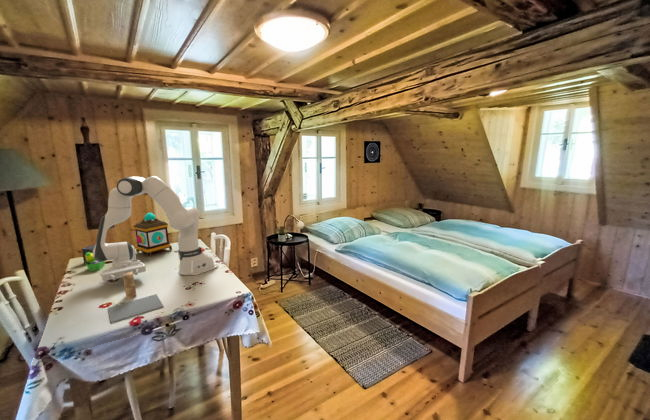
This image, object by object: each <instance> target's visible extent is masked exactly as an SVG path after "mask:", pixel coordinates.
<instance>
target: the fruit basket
mask: <svg viewBox="0 0 650 420" xmlns="http://www.w3.org/2000/svg"><path fill="white" fill-rule="evenodd" d="M85 257H86V260H87V261H88V263H85V266H86V267H87V269H88V270H89V272H96V271H100V270H101V269H102V268H103V267H104V266H105V263H106V261H102V262H100V261H97V260H96V259H94V257H93V254H92V253H90V252H88V253H86V254H85Z"/></svg>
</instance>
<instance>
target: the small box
mask: <svg viewBox="0 0 650 420" xmlns="http://www.w3.org/2000/svg"><path fill="white" fill-rule="evenodd" d="M94 247H95V244H93V245H89V246H87V247H86V246H85V247H82V248H81V253H82V258H83V264H87V263H88V261H87V260H86V257H85V254H86V253H88V252H90V253H92V254H93V250H94Z"/></svg>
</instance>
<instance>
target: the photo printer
mask: <svg viewBox="0 0 650 420" xmlns="http://www.w3.org/2000/svg"><path fill="white" fill-rule="evenodd" d="M131 246H132V248H133V258H132V259H131V261H132V260H138V259H137V255H136V254H137V252H136V249H135V246H134V245H132V244H131Z"/></svg>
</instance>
